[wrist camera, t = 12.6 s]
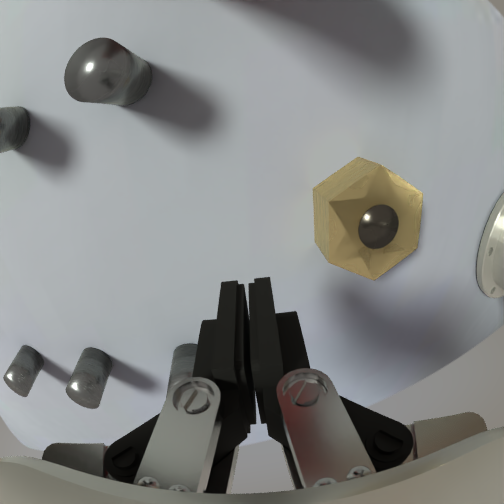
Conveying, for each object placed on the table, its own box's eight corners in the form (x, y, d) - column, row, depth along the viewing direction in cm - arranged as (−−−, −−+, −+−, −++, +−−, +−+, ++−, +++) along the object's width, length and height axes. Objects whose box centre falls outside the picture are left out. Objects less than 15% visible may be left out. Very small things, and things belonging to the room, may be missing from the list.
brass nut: (377, 142, 15) (404, 148, 12) (411, 216, 18) (437, 233, 15) (288, 204, 17) (300, 221, 14) (335, 272, 19) (351, 297, 16)
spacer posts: (149, 50, 12) (122, 28, 8) (214, 367, 22) (213, 411, 18) (-53, 156, 11) (-86, 169, 7) (30, 365, 21) (15, 394, 17)
